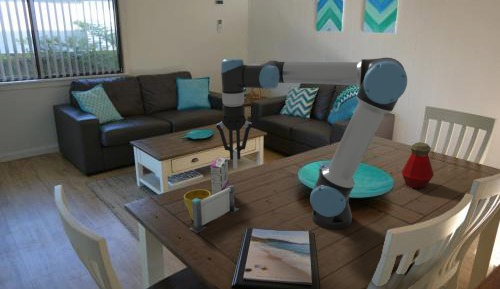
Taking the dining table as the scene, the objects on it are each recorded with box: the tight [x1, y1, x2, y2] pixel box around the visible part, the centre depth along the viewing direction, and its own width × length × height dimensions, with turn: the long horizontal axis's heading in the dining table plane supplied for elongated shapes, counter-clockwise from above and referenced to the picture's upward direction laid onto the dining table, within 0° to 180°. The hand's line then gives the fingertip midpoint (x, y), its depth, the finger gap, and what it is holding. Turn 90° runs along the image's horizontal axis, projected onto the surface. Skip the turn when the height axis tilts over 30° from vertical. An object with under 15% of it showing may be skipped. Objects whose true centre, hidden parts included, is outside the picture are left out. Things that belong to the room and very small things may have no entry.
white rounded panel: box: [200, 184, 236, 226], centre depth 149 cm, size 18×3×10 cm, turn 140°
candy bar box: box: [210, 157, 230, 196], centre depth 166 cm, size 11×5×16 cm, turn 168°
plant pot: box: [183, 188, 212, 221], centre depth 149 cm, size 10×10×10 cm
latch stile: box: [188, 198, 207, 234], centre depth 141 cm, size 4×4×12 cm
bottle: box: [401, 141, 435, 189], centre depth 177 cm, size 16×14×20 cm
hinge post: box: [227, 191, 240, 215], centre depth 156 cm, size 4×4×8 cm
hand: (235, 167), depth 141 cm, fingers closed
